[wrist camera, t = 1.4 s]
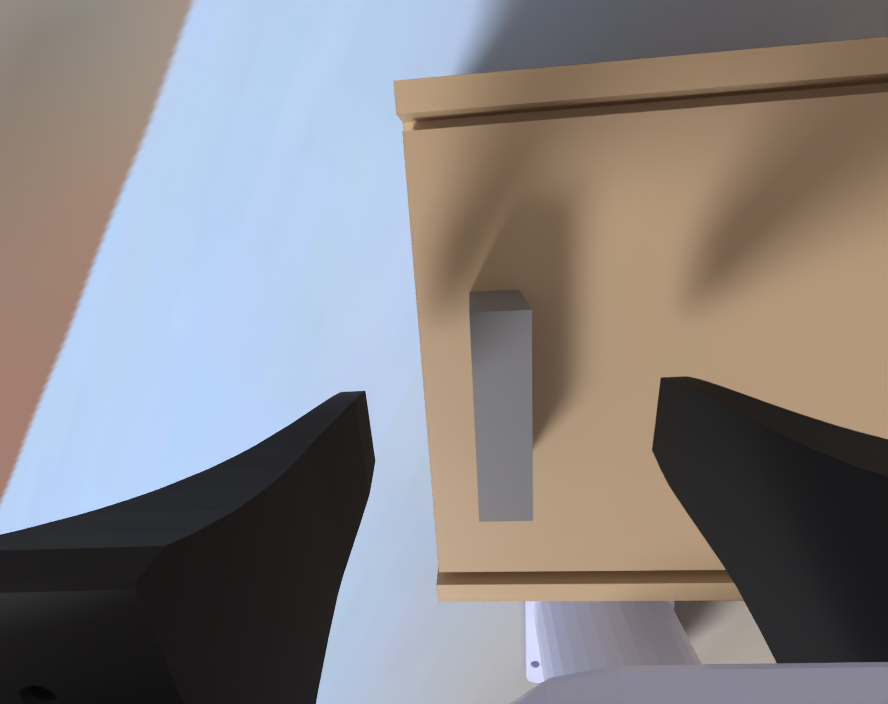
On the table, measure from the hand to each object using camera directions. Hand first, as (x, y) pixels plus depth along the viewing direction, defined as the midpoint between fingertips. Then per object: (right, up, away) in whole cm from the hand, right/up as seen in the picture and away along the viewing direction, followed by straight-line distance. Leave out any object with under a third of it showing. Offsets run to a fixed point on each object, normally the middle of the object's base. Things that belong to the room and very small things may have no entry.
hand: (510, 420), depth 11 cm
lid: (+6, +1, +4) cm, 7 cm away
